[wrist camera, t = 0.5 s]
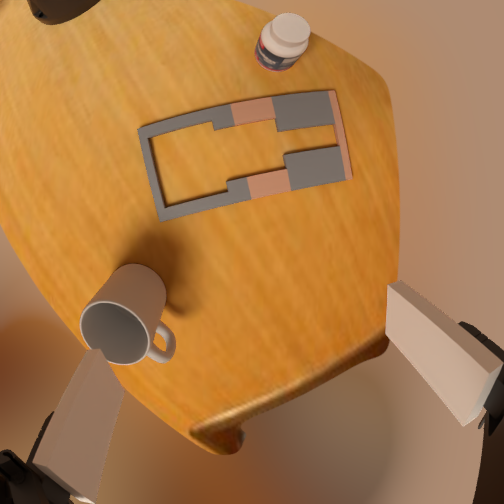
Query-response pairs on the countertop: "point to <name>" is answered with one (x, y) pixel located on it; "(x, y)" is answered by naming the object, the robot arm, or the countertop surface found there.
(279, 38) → the pill bottle
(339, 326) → the countertop surface
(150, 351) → the mug
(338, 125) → the keyhole board
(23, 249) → the countertop surface
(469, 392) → the robot arm
